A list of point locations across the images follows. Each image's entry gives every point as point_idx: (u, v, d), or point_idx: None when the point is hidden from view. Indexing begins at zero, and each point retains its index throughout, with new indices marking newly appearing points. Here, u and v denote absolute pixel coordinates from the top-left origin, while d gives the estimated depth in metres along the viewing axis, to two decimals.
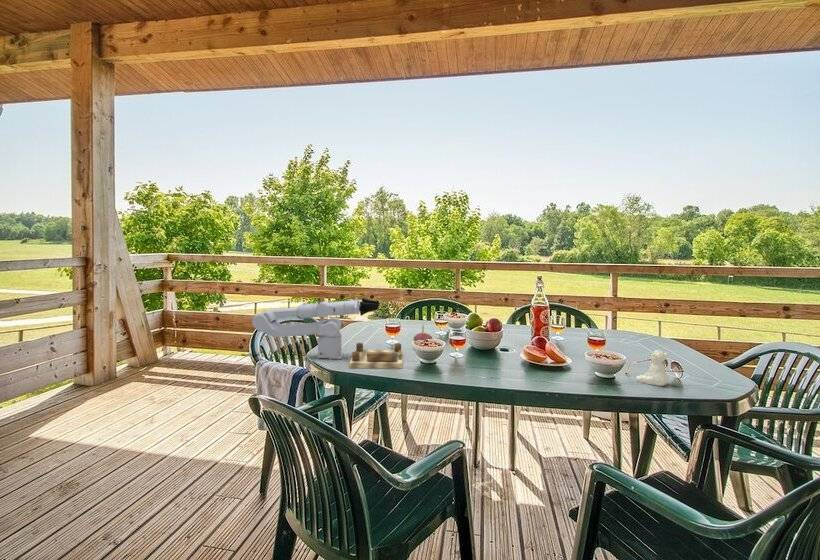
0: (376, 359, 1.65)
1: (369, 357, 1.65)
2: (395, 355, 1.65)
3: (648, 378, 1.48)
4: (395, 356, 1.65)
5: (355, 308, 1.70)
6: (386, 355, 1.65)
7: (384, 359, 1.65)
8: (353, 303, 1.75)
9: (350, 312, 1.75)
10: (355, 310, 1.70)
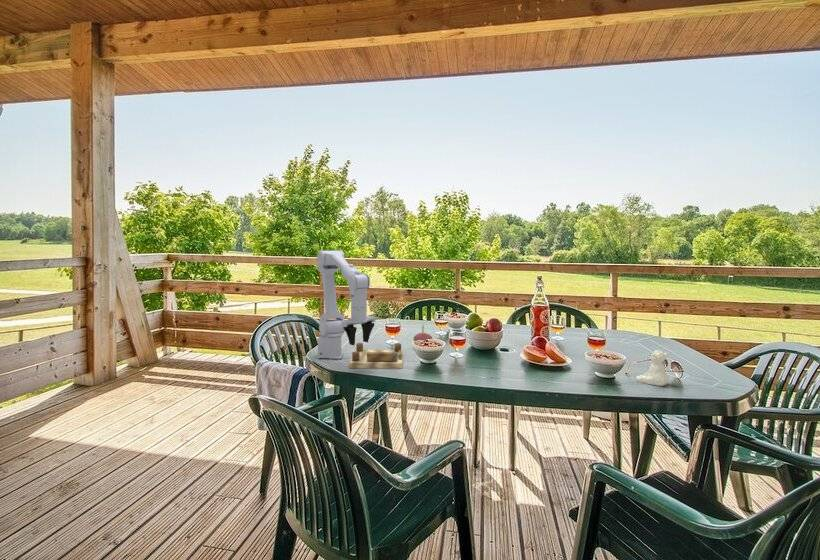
0: (376, 359, 1.65)
1: (369, 357, 1.65)
2: (395, 355, 1.65)
3: (648, 378, 1.48)
4: (395, 356, 1.65)
5: (343, 323, 1.53)
6: (386, 355, 1.65)
7: (384, 359, 1.65)
8: (357, 318, 1.56)
9: (351, 312, 1.58)
10: (342, 322, 1.54)
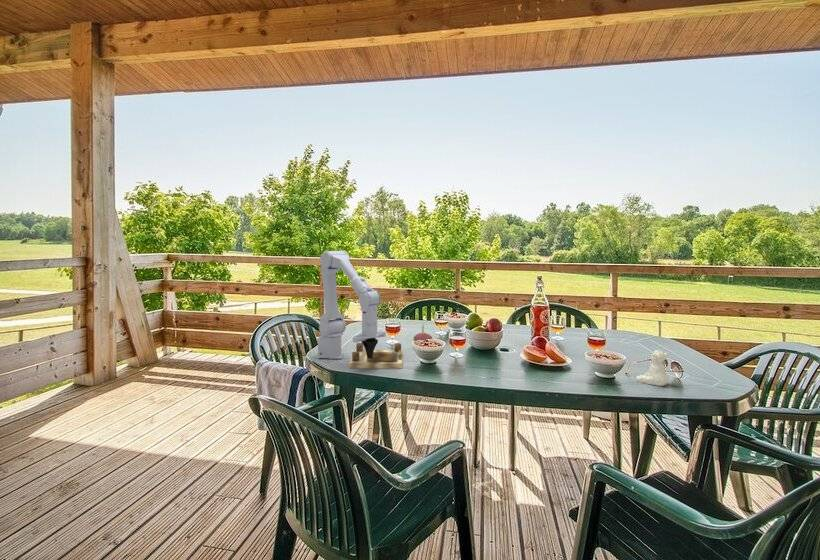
0: (376, 359, 1.65)
1: None
2: (395, 355, 1.65)
3: (648, 378, 1.48)
4: (395, 356, 1.65)
5: (355, 338, 1.57)
6: (386, 355, 1.65)
7: (384, 359, 1.65)
8: (368, 333, 1.60)
9: (362, 328, 1.62)
10: (354, 338, 1.58)
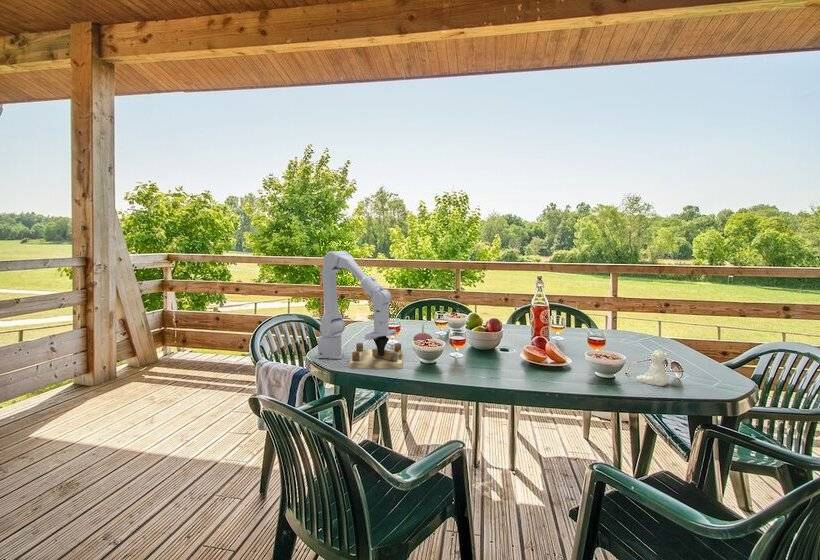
0: (379, 356, 1.69)
1: (373, 352, 1.71)
2: (393, 355, 1.65)
3: (648, 378, 1.48)
4: (393, 356, 1.65)
5: (367, 336, 1.62)
6: (386, 354, 1.67)
7: (384, 357, 1.68)
8: (380, 331, 1.64)
9: None
10: (366, 336, 1.62)
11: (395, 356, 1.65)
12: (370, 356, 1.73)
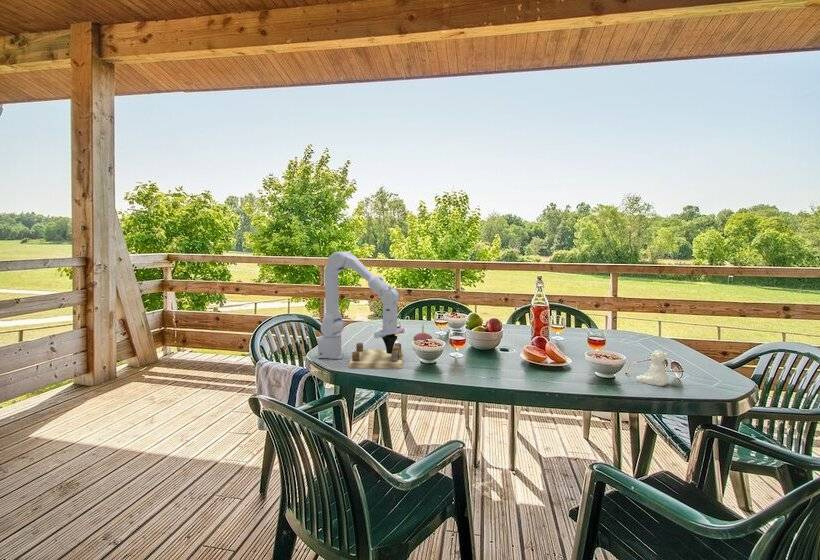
0: None
1: None
2: (391, 354, 1.66)
3: (648, 378, 1.48)
4: (391, 355, 1.66)
5: (376, 334, 1.65)
6: (392, 352, 1.69)
7: None
8: (389, 330, 1.67)
9: None
10: (375, 334, 1.65)
11: (392, 356, 1.65)
12: (370, 356, 1.73)
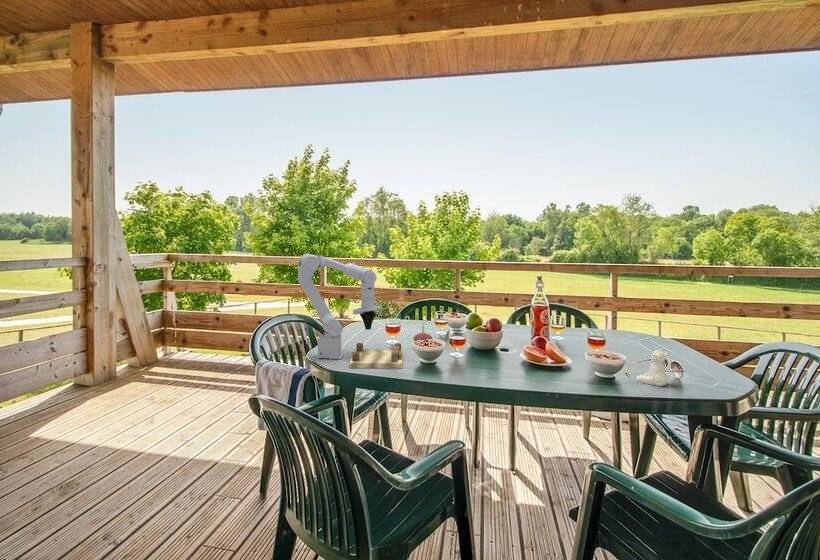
0: None
1: None
2: (391, 354, 1.66)
3: (648, 378, 1.48)
4: (391, 355, 1.66)
5: (355, 311, 1.78)
6: (392, 352, 1.69)
7: None
8: (366, 307, 1.81)
9: (361, 302, 1.83)
10: (354, 310, 1.79)
11: (392, 356, 1.65)
12: (370, 356, 1.73)
